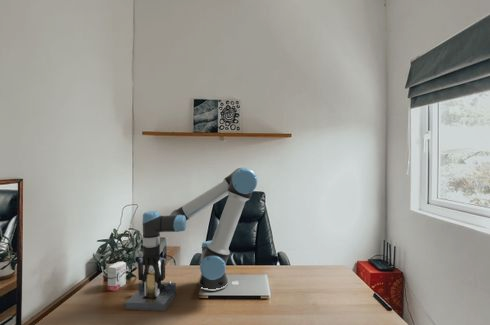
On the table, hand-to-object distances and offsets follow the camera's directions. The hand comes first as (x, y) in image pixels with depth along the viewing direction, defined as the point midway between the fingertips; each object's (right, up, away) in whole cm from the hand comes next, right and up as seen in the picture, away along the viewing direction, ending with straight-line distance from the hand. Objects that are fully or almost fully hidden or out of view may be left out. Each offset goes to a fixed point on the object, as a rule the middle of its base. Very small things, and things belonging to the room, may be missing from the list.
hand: (152, 294), depth 125 cm
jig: (0, -3, 0) cm, 3 cm away
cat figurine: (-5, -3, +20) cm, 21 cm away
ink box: (-24, -4, +15) cm, 28 cm away
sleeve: (0, -2, 0) cm, 2 cm away
